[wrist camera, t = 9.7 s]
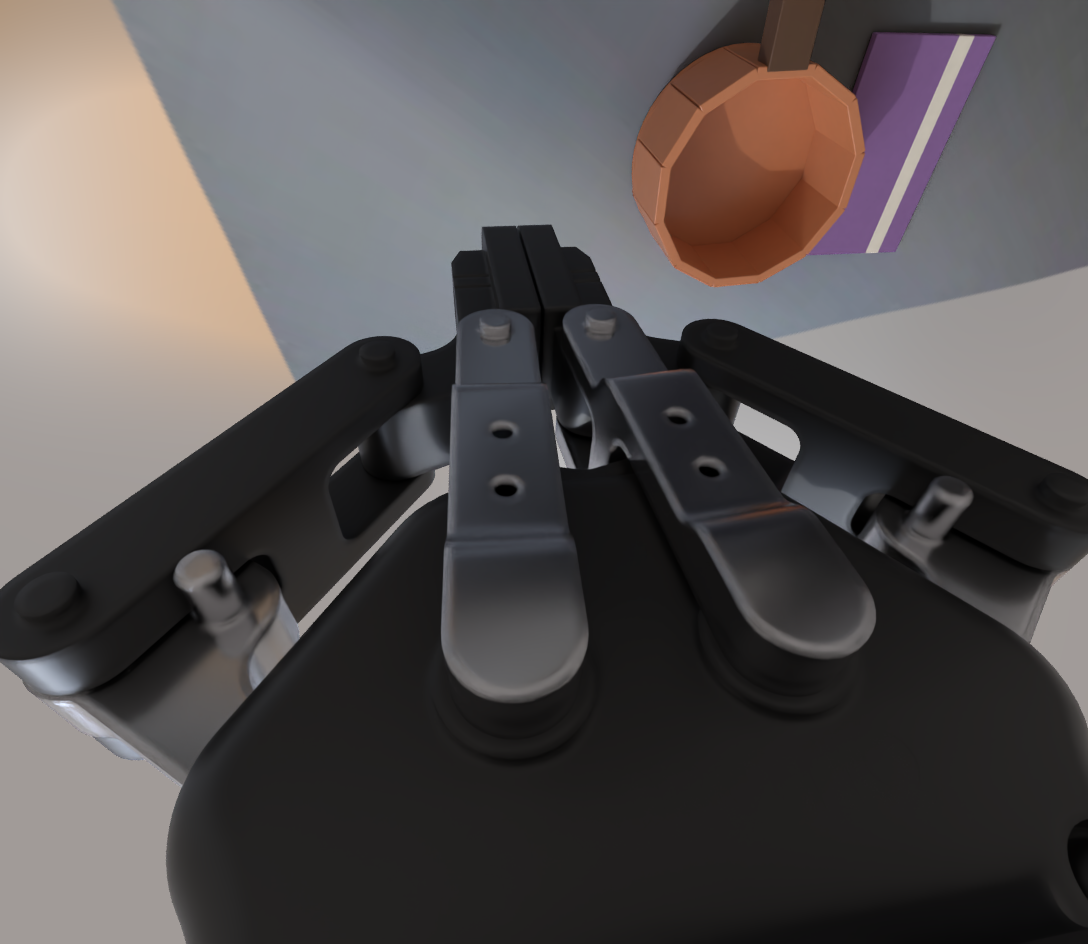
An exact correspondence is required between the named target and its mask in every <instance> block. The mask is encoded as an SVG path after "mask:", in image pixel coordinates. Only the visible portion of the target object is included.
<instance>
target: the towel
mask: <svg viewBox="0 0 1088 944" xmlns="http://www.w3.org/2000/svg"><path fill="white" fill-rule="evenodd" d="M995 38H996V36H994V35H986V34H940V33H894V32H873V34H872V37H871V40H870V43H869V46H868V48H867V51H866V54H865V57H864V60H863V63H862V66H861V68H860V71H859V74H858V77H857V80H856V83H855V86H854V88H853V91H852V93H853V94H855V95H856V98H857V99H858V106H859V112H860V118H861V125H862V131H863V137H864V144H865V151H864V152H865V156H864V159H863V162H862V164H861V167H860V170H859V173H858V176H857V179H856V182H855V185H854V188H853V191H852V193H851V196H850V199H849V202H848V205H847V208H844V209H845V211H844V212H843V214H842V215H841V216H840V217H839V218H838V219H837V221H836V222H835V223H834V224H833V225H832V227H831V228H830V229H829V230H828V231H827V233H826V234H825V235H824V236H823V237H822V239H821V240H820V241H819V242H818V243H817V244H816V246H815V247H814V248H813V249H812V250H811V252H810V253H809V254H806V255H824V254H850V253H877V252H895V251H896V249H897V247H898V245H899V243H900V241H901V239H902V237H903V234H904V232H905V230H906V228H907V226H908V224H909V222H910V219H911V217H912V215H913V213H914V211H915V209H916V207H917V205H918V202H919V200H920V198H921V196H922V194H923V192H924V190H925V188H926V185H927V183H928V181H929V179H930V177H931V175H932V173H933V170H934V168H935V166H936V164H937V162H938V160H939V158H940V156H941V153H942V151H943V149H944V147H945V145H946V143H947V141H948V139H949V136H950V134H951V132H952V130H953V128H954V126H955V124H956V122H957V119H958V117H959V115H960V113H961V111H962V109H963V107H964V104H965V102H966V100H967V98H968V96H969V94H970V92H971V90H972V87H973V85H974V83H975V81H976V79H977V77H978V75H979V73H980V70H981V68H982V66H983V64H984V62H985V60H986V58H987V56H988V53H989V51H990V49H991V47H992V45H993V43H994V41H995Z"/></svg>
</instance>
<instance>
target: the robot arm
mask: <svg viewBox="0 0 1088 944" xmlns="http://www.w3.org/2000/svg"><path fill="white" fill-rule="evenodd" d="M451 265H452V279H453V292H454V305H455V319H456V330H457V335H456V336H455V338H454V339H453V340H452V341H451V342H449V343H448V344H447V345H445V346H443V347H441V348H439V349H437V350H434V351H431V352H427V353H423V354H420V352H419V350H418V348H417V347H416V346H415V345H414V344H412V343H411V342H409V341H407V340H405V339H401V338H397V337H391V336H377V337H370V338H365V339H362V340H359V341H356V342H354V343H352V344H350V345H348V346H347V347H345V348H344V349H342V350H341V351H339V352H338V353H337V354H335V355H334V356H332V357H331V358H329V359H328V360H327V361H325V362H324V363H322V364H321V365H319V366H318V367H316V368H315V369H314V370H312V371H311V372H309V373H308V374H306V375H305V376H303V377H302V378H301V379H299V380H298V381H296V382H295V383H293V384H292V385H291V386H289V387H288V388H286V389H285V390H283V391H282V392H281V393H279V394H278V395H276V396H275V397H273V398H272V399H270V400H269V401H268V402H266V403H265V404H263V405H262V406H260V407H259V408H257V409H256V410H255V411H253V412H252V413H250V414H249V415H247V416H246V417H245V418H243V419H242V420H240V421H239V422H237V423H236V424H234V425H233V426H232V427H230V428H229V429H227V430H226V431H224V432H223V433H222V434H220V435H219V436H217V437H216V438H214V439H213V440H211V441H210V442H209V443H207V444H206V445H204V446H203V447H202V448H200V449H198V450H197V451H196V452H194V453H193V454H191V455H190V456H189V457H187V458H186V459H184V460H183V461H181V462H180V463H179V464H177V465H176V466H174V467H173V468H171V469H170V470H168V471H167V472H166V473H164V474H163V475H161V476H160V477H158V478H157V479H156V480H154V481H152V482H151V483H150V484H148V485H147V486H145V487H144V488H142V489H141V490H140V491H138V492H137V493H135V494H134V495H132V496H131V497H129V498H128V499H127V500H125V501H124V502H122V503H121V504H119V505H118V506H116V507H115V508H114V509H112V510H111V511H110V512H108V513H106V514H105V515H104V516H102V517H101V518H99V519H98V520H97V521H95V522H93V523H92V524H91V525H89V526H88V527H86V528H85V529H83V530H82V531H81V532H79V533H78V534H76V535H75V536H73V537H72V538H71V539H69V540H68V541H66V542H65V543H63V544H62V545H60V546H59V547H58V548H56V549H55V550H53V551H52V552H50V553H49V554H47V555H46V556H45V557H43V558H42V559H40V560H39V561H37V562H36V563H35V564H33V565H32V566H30V567H29V568H27V569H26V570H24V571H23V572H22V573H20V574H19V575H17V576H16V577H15V578H13V579H12V580H11V581H9V582H8V583H7V584H6V585H5V586H3V587H2V588H1V589H0V662H1V663H2V664H3V665H5V666H6V667H7V668H8V669H9V670H11V671H12V672H13V673H14V674H15V675H17V676H18V677H19V678H20V679H22V681H23V684H24V685H25V687H26V688H27V689H28V691H30V692H31V693H32V694H34V695H35V696H36V697H37V698H38V699H40V700H41V701H42V702H44V703H45V704H46V705H47V706H48V707H50V708H51V709H52V710H53V711H55V712H56V713H57V714H58V715H60V716H61V717H62V718H64V719H65V720H66V721H67V722H69V723H70V724H71V725H72V726H74V727H75V728H76V729H77V730H79V731H80V732H82V733H84V734H86V735H89V736H92V737H93V738H95V739H96V740H97V741H98V742H100V743H101V744H102V745H103V746H105V747H106V748H107V749H108V750H110V751H111V752H112V753H114V754H115V755H116V756H118V757H120V758H123V759H128V760H143V759H145V760H146V761H147V762H149V763H150V764H151V765H152V766H154V767H155V768H157V769H158V770H159V771H160V772H162V773H163V774H164V775H165V776H167V777H168V778H169V779H171V780H172V781H173V782H174V783H176V784H177V785H179V786H180V787H181V790H180V793H179V796H178V798H177V801H176V804H175V807H174V810H173V814H172V818H171V822H170V826H169V833H168V840H167V851H166V867H167V879H168V885H169V891H170V895H171V899H172V903H173V905H174V908H175V911H176V913H177V916H178V919H179V922H180V924H181V927H182V930H183V934H184V937H185V941H186V944H1088V728H1087V724H1086V721H1085V718H1084V716H1083V713H1082V711H1081V709H1080V707H1079V704H1078V702H1077V701H1076V699H1075V697H1074V695H1073V694H1072V692H1071V690H1070V689H1069V687H1068V685H1067V684H1066V683H1065V681H1064V680H1063V679H1062V677H1061V676H1060V675H1059V673H1058V672H1057V671H1056V669H1055V668H1054V667H1053V666H1052V665H1051V664H1050V663H1049V662H1048V661H1047V660H1046V658H1045V657H1044V656H1043V655H1042V654H1041V653H1039V652H1038V651H1037V650H1036V649H1035V648H1034V647H1033V646H1032V645H1031V644H1030V642H1031V639H1032V636H1033V633H1034V631H1035V628H1036V625H1037V623H1038V620H1039V617H1040V615H1041V612H1042V610H1043V607H1044V604H1045V602H1046V599H1047V596H1048V594H1049V591H1050V588H1051V586H1052V585H1054V584H1055V583H1056V582H1057V581H1058V580H1059V579H1060V578H1061V577H1062V576H1064V575H1065V574H1066V573H1067V572H1068V571H1069V570H1070V569H1071V568H1072V567H1073V566H1074V565H1076V564H1077V563H1078V562H1079V561H1080V560H1081V559H1082V558H1083V557H1085V555H1087V554H1088V479H1086V478H1084V477H1083V476H1081V475H1079V474H1077V473H1075V472H1073V471H1070V470H1068V469H1066V468H1064V467H1062V466H1059V465H1057V464H1055V463H1052V462H1050V461H1048V460H1046V459H1043V458H1041V457H1039V456H1037V455H1034V454H1032V453H1029V452H1027V451H1025V450H1023V449H1021V448H1018V447H1016V446H1014V445H1012V444H1009V443H1007V442H1005V441H1002V440H1000V439H998V438H996V437H993V436H991V435H989V434H986V433H984V432H982V431H980V430H977V429H975V428H973V427H971V426H968V425H966V424H964V423H962V422H959V421H957V420H955V419H952V418H950V417H948V416H946V415H943V414H941V413H938V412H936V411H934V410H932V409H930V408H927V407H925V406H923V405H920V404H918V403H916V402H914V401H911V400H909V399H907V398H905V397H902V396H900V395H898V394H896V393H893V392H891V391H889V390H886V389H884V388H882V387H879V386H877V385H875V384H873V383H871V382H868V381H866V380H864V379H861V378H859V377H857V376H855V375H852V374H850V373H848V372H846V371H843V370H841V369H839V368H836V367H834V366H832V365H830V364H827V363H825V362H823V361H820V360H818V359H816V358H814V357H811V356H809V355H807V354H805V353H802V352H800V351H798V350H796V349H793V348H791V347H789V346H786V345H784V344H782V343H779V342H777V341H775V340H773V339H771V338H768V337H766V336H764V335H761V334H759V333H757V332H755V331H752V330H750V329H748V328H746V327H743V326H741V325H739V324H736V323H733V322H730V321H725V320H719V319H702V320H697V321H694V322H692V323H690V324H688V325H687V326H686V327H685V328H684V329H683V332H682V336H681V340H680V341H675V340H668V339H661V338H654V337H649V336H646V335H645V334H644V332H643V331H642V329H641V328H640V326H639V324H638V323H637V321H636V320H635V319H634V317H633V316H632V315H631V314H629V313H628V312H626V311H624V310H622V309H620V308H617V307H614V306H612V304H611V301H610V299H609V297H608V295H607V293H606V291H605V289H604V286H603V284H602V282H600V278H599V276H598V274H597V272H596V269H595V267H594V265H593V263H592V261H591V259H590V257H589V256H587V255H586V254H585V253H583V252H582V251H581V250H579V249H578V248H577V247H560V245H559V242H558V240H557V237H556V235H555V232H554V230H553V227H552V225H523V226H518V227H517V228H516V226H494V227H482V250H477V251H460V252H459V253H458V254H457V256H456V257H455V258H454V260H453V261H452V263H451ZM740 403H743V404H745V405H747V406H749V407H751V408H753V409H755V410H757V411H759V412H761V413H763V414H765V415H767V416H769V417H771V418H773V419H775V420H777V421H779V422H780V423H782V424H784V425H787V426H788V427H790V428H791V429H792V430H793V431H794V432H795V433H796V434H797V436H798V438H799V441H800V451H799V454H798V455H797V458H796V460H795V461H793V460H791V459H789V458H787V457H785V456H783V455H782V454H780V453H778V452H776V451H774V450H772V449H770V448H768V447H767V446H764V445H763V444H761V443H759V442H757V441H755V440H753V439H751V438H750V437H748V436H746V435H744V434H742V433H740V432H738V431H737V430H736V429H735V427H734V426H733V424H734V421H735V418H736V415H737V412H738V409H739V406H740ZM551 410H555V411H556V415H557V416H556V431H555V433H554V426H553V420H552V413H551ZM555 436H556V439H557V443H558V445H559V448H560V451H561V453H562V456H563V459H564V461H565V463H566V466H567V468H562V467H560V466H559V460H558V453H557V446H556V440H555ZM357 447H358V448H359V452H358V453H357V454H356V455H355V456H354V457H353V458H351V459H350V460H349V461H348V462H347V463H346V464H345V465H344V466H342V467H341V468H340V469H339V470H338V471H337V472H335V473H334V474H333V475H332V476H331V474H332V472H333V470H334V469H335V467H336V466H337V465H338V463H339V462H340V461H342V460H343V459H344V458H345V457H346V456H347V455H348V454H350V453H351V452H352V451H353V450H354V449H356V448H357ZM447 465H449V493H446V494H444V495H441V496H439V497H438V498H436V499H434V500H432V501H430V502H428V503H427V504H425V505H424V506H422V507H421V508H419V509H418V510H416V511H415V512H414V513H413V514H412V515H411V516H409V517H408V518H407V519H406V520H405V521H404V522H403V523H402V524H401V525H400V526H399V527H398V528H397V530H395V532H394V533H393V534H392V535H391V536H390V537H389V538H388V539H387V541H386V542H385V543H384V544H383V545H382V546H381V547H380V548H379V550H378V551H377V552H376V553H375V554H374V555H373V556H372V557H371V559H370V560H369V561H368V562H367V563H366V564H365V565H364V567H363V568H362V569H361V570H360V571H359V572H358V573H357V574H356V575H355V577H354V578H353V579H352V580H351V581H350V582H349V583H348V584H347V586H346V587H345V588H344V589H343V590H342V591H341V592H340V594H339V595H338V596H337V597H336V598H335V599H334V600H333V601H332V603H331V604H330V605H329V606H328V607H327V608H326V609H325V610H324V612H323V613H322V614H321V615H320V616H319V617H318V618H317V620H316V621H315V622H314V623H313V624H312V625H311V626H310V627H309V628H308V630H307V631H306V632H305V633H304V634H303V635H302V636H301V637H300V639H299V628H298V625H297V624H298V623H299V622H300V621H301V620H302V618H303V617H304V616H305V615H306V614H307V613H308V612H309V611H310V610H311V609H312V608H313V607H314V606H315V605H316V604H317V603H318V602H319V601H320V600H321V599H322V598H323V597H324V596H325V594H327V593H328V591H329V590H330V589H331V588H332V587H333V586H334V585H335V584H336V583H337V582H338V581H339V580H340V579H341V578H342V577H343V576H344V575H345V574H346V573H347V572H348V571H349V570H350V569H351V568H352V567H353V565H354V564H355V563H356V562H357V561H358V560H359V559H360V558H361V557H362V556H363V555H364V554H365V553H366V552H367V551H368V550H369V549H370V548H371V547H372V546H373V545H374V544H375V543H376V542H377V541H378V540H379V538H380V537H381V536H382V535H383V534H384V533H385V532H386V531H387V530H388V529H389V528H390V527H391V526H392V525H393V524H394V523H395V522H396V521H397V520H398V519H399V518H400V517H401V515H403V514H404V512H405V511H406V510H407V509H408V508H409V507H410V506H411V505H412V504H413V503H414V502H415V501H416V500H417V499H418V498H419V497H420V496H421V495H422V494H423V493H424V492H425V491H426V490H427V489H428V488H429V486H430V485H431V483H432V482H433V480H434V477H435V470H436V469H439V468H441V467H444V466H447Z"/></svg>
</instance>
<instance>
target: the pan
mask: <svg viewBox="0 0 1088 944" xmlns="http://www.w3.org/2000/svg"><path fill="white" fill-rule="evenodd" d="M824 4H825V0H770V2H769V7H768V12H767V17H766V22H765V26H764V31H763V36H762V41H761V44H760V43H740V44H732V45H729V46H724V47H722V48H718V49H716V50H714V51H712V52H709V53H707V54H705V55H703V56H702V57H700V58H698V59H697V60H695V61H694V62H692V63H691V64H689V65H688V66H687V67H686V68H684V69H683V70H682V71H681V72H679V73H678V74H677V75H676V76H675V77H674V78H673V79H672V80H671V81H670V82H669V83H668V85H667V86H666V87H665V88H664V89H663V91H662V92H661V93H660V94H659V96H658V97H657V99H656V100H655V102H654V103H653V105H652V106H651V108H650V110H649V112H648V114H647V116H646V118H645V120H644V121H643V124H642V126H641V129H640V132H639V134H638V137H637V141H636V145H635V149H634V154H633V161H632V185H633V191H632V192H633V196H634V199H635V201H636V203H637V206H638V208H639V211H640V213H641V214H642V216H643V218H644V220H645V222H646V224H647V226H648V228H649V231H650V233H651V234H652V236H653V237H654V239H655V240H656V242H657V243H658V245H659V246H660V248H661V249H662V251H663V252H664V254H665V255H666V257H667V258H668V260H669V261H670V262H671V264H672V265H673V266H674V268H676V269H678V270H679V271H681V272H683V273H685V274H687V275H689V276H691V277H693V278H695V279H697V280H699V281H701V282H703V283H704V284H706V285H708V286H710V287H720V286H731V285H741V284H752V283H758V282H759V281H760V282H762V281H763V280H765V279H767V278H769V277H770V276H772V275H774V274H776V273H777V272H779V271H781V270H783V269H784V268H786V267H788V266H790V265H791V264H793V263H795V262H797V261H798V260H800V259H802V258H804V257H805V256H806V254H809V253H810V252H811V250H812V249H813V248H814V247H815V246H816V244H817V243H818V242H819V241H820V240H821V239H822V237H823V236H824V235H825V234H826V233H827V231H828V230H829V229H830V228H831V227H832V225H833V224H834V223H835V222H836V221H837V219H838V218H839V217H840V216H841V215H842V214H843V212H844V211H845V209H844V208H847V205H848V202H849V199H850V196H851V193H852V191H853V188H854V185H855V182H856V179H857V176H858V173H859V170H860V167H861V164H862V162H863V159H864V156H865V152H864V151H865V144H864V137H863V131H862V125H861V118H860V112H859V106H858V99H857V98H856V95H855V94H853V93H852V92H851V91H850V90H849V89H847V88H846V87H845V86H844V85H843V84H841V83H840V82H839V81H838V80H837V79H835V78H834V77H833V76H832V75H831V74H830V73H828V72H827V71H826V70H825V69H824V68H822V67H821V66H820V65H819V64H817V63H815V62H813V61H811V60H810V58H811V54H812V50H813V46H814V43H815V39H816V35H817V31H818V27H819V23H820V19H821V15H822V12H823V8H824Z"/></svg>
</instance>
